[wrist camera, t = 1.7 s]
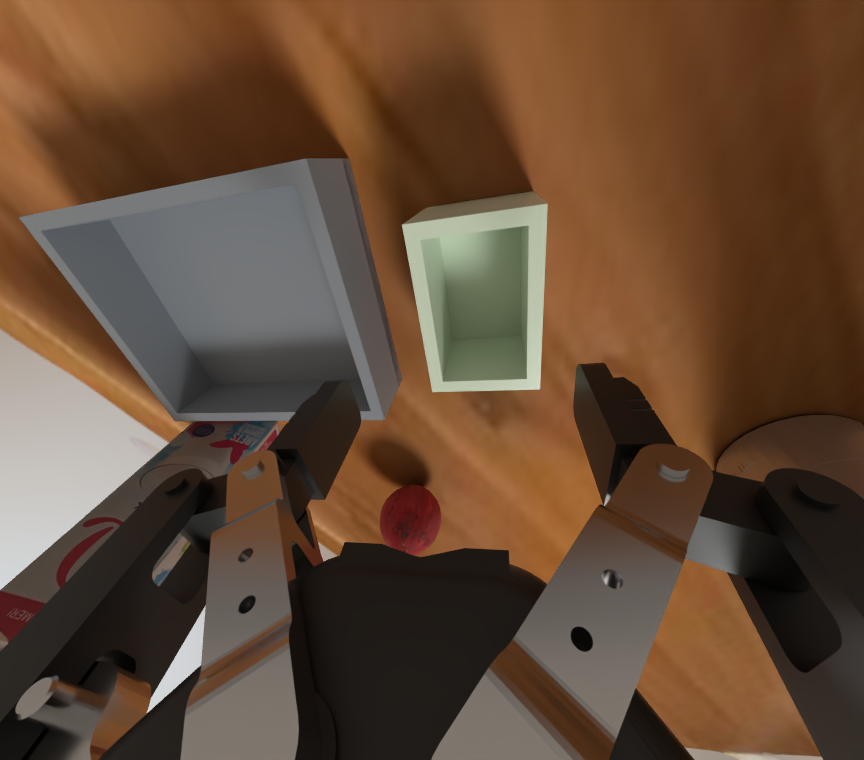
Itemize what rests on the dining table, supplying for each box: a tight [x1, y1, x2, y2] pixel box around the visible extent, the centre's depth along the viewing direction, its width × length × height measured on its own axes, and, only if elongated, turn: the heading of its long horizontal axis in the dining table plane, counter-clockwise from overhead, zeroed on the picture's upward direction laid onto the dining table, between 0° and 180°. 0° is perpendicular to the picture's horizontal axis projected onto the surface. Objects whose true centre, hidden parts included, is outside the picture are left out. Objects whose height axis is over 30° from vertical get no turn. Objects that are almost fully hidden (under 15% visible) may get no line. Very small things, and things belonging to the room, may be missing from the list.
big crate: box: [19, 158, 402, 421], centre depth 22 cm, size 18×15×5 cm
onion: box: [380, 485, 441, 555], centre depth 30 cm, size 6×6×8 cm
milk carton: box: [0, 421, 279, 651], centre depth 25 cm, size 7×7×22 cm
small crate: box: [402, 191, 548, 392], centre depth 18 cm, size 6×9×6 cm, turn 9°
